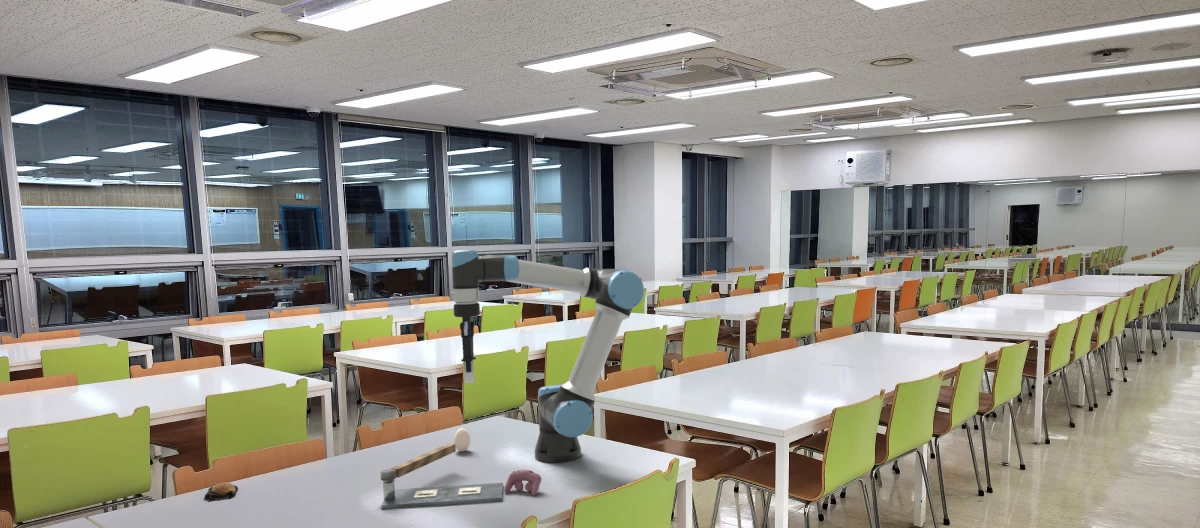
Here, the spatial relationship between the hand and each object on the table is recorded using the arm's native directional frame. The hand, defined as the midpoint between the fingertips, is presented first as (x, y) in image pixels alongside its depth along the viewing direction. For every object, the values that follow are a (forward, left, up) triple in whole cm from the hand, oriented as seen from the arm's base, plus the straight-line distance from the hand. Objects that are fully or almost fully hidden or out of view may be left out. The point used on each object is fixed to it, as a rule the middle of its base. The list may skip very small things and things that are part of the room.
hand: (469, 382), depth 214 cm
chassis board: (+7, +12, -29) cm, 33 cm away
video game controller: (-15, +12, -30) cm, 35 cm away
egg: (+6, -31, -30) cm, 43 cm away
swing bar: (+15, +1, -24) cm, 28 cm away
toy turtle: (+72, -2, -30) cm, 78 cm away
